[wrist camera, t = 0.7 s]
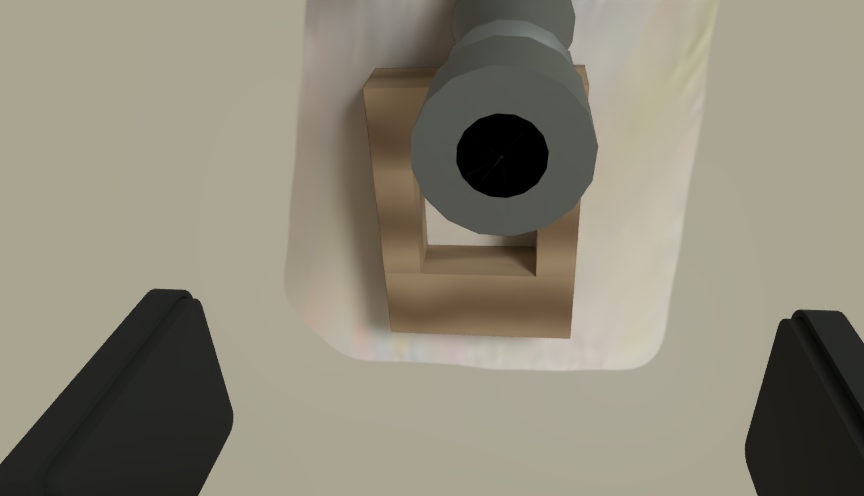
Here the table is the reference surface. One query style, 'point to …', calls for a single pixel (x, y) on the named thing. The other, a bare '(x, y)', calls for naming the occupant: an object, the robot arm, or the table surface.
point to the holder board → (457, 265)
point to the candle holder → (506, 120)
